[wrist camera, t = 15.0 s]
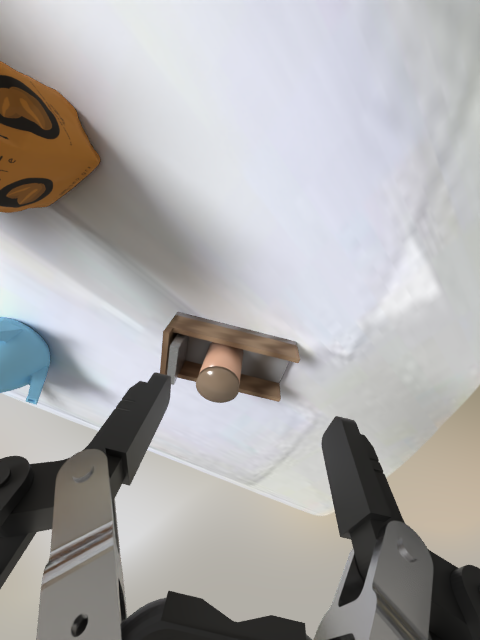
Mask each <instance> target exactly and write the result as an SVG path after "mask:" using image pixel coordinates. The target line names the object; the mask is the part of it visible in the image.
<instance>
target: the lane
mask: <svg viewBox="0 0 480 640" xmlns="http://www.w3.org/2000/svg"><path fill="white" fill-rule="evenodd" d="M178 333H179V334H183V335H187V336H189V340H188V347H187V353H186V360H185V362H184V364H183V366H182V368H181V370H180V373H179V375H178V378H182V379H186V380H191V381H195V382H196V381H197V378H198V376H199V373H200V370H201V367H202V365H203V362H204V359H205V357H206V354H207V351H208V348H209V346H210V344H211V343H212V342H215V343H219V344H223V345H227V346H231V347H235V348H239V349H243V361H242V369H241V376H240V384H239V391H238V392H241V393H245V394H249V395H253V396H257V397H262V398H266V399H270V400H274V401H278V402H279V401H280V399H281V396H280V386H279V383H280V381H281V378H282V376H283V374H284V372H285V370H286V368H287V365H288V363H289V361H291V362H295V363H299V361H300V357H299V352H298V348H297V344H296V342H295V341H291V340H287V339H283V338H279V337H275V336H271V335H267V334H263V333H259V332H255V331H251V330H247V329H243V328H240V327H236V326H232V325H228V324H224V323H220V322H216V321H212V320H208V319H204V318H200V317H196V316H192V315H188V314H184V313H180V312H177V313H176V315H175V316H174V318H173V319H172V320H171V322H170V323H169V325H168V326H167V327H166V329H165V330H164V332H163V343H162V355H161V368H160V374H164V375H167V370H168V360H169V350H170V345H171V343H172V342H173V340H174V339H175V337H176V335H177V334H178Z"/></svg>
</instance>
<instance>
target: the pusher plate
mask: <svg viewBox="0 0 480 640" xmlns="http://www.w3.org/2000/svg"><path fill="white" fill-rule="evenodd" d="M188 340H189V336H187V335H183V334H179V333H178V334H177V335H176V337H175V339H174V340H173V342H172V343H171V345H170V350H169V360H168V370H167V375H168V376H171V384H173V385H174V383H175V381H176V379H177V377H178V375H179V373H180V370H181V368H182V366H183V364H184V362H185V360H186V353H187V347H188Z"/></svg>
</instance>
